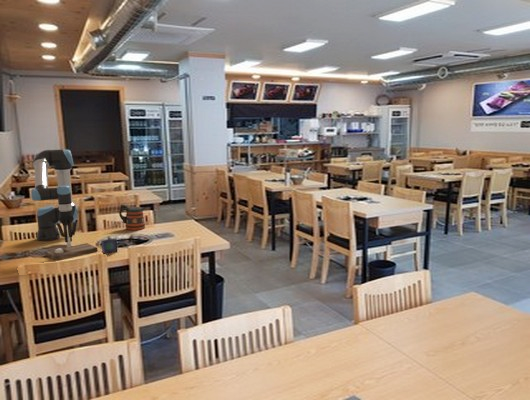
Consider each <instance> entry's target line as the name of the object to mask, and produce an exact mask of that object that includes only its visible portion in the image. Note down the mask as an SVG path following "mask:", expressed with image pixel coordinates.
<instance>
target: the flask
mask: <svg viewBox="0 0 530 400" xmlns="http://www.w3.org/2000/svg"><path fill="white" fill-rule="evenodd" d="M100 241H101V242H100V243H101V253H108V254H113V253H112V252H115V253H118V240H117V238H116V237H110V236H109V235H108V236H107V237H106V238H104V239H101V240H100Z"/></svg>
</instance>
